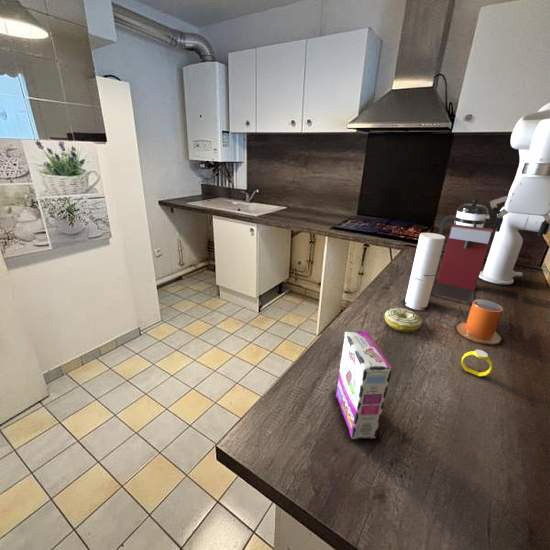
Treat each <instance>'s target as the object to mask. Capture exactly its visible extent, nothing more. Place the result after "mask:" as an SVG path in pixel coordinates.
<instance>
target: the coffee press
mask: <svg viewBox="0 0 550 550" xmlns="http://www.w3.org/2000/svg"><path fill="white" fill-rule="evenodd" d="M471 201H472V203H462V204H461V205H459V206H458V207H457V208H456V214H455V215H454V214H449V215H446V216H444V217H443V218H442V220H441V222H440V226H439V230H438V233H437V234H439V235H443V233H444V230H445V226H446V223H447V221H448V220H451V219H452V220H453V219H454V223H453V224H456V225H464V226H471V227H479V228H484V225H485V223H486V220H490V219H491V218H490V214H489V210H488V207H487V206H485V205H483V204H478V202H479V200H478V199H477V198H474V199H472V200H471ZM446 245H447V242H445V241H444V244H443V247H446ZM443 257H444V255H443V256H442V258H443Z"/></svg>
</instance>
